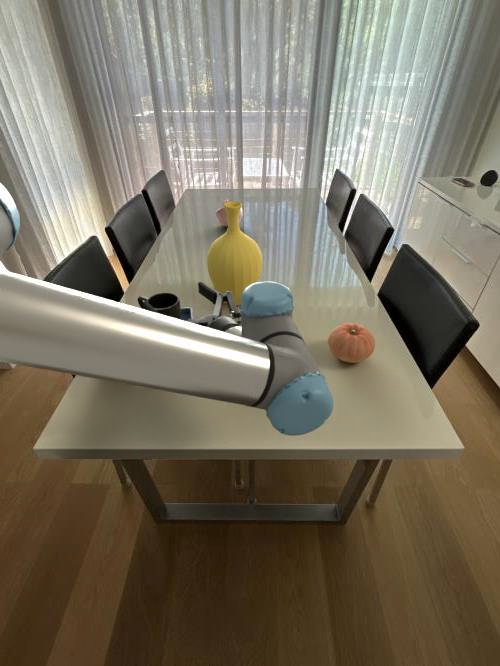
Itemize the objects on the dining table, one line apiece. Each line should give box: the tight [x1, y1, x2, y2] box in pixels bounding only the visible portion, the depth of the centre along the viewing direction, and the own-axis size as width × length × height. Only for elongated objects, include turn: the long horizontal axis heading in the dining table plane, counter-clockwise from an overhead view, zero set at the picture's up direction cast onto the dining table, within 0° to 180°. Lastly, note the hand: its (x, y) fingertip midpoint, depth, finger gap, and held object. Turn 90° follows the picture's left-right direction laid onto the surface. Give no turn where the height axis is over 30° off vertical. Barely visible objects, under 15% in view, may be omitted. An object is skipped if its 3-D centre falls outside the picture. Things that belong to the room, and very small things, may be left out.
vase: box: [206, 201, 263, 306], centre depth 96 cm, size 16×16×28 cm
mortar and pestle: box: [215, 199, 244, 228], centre depth 151 cm, size 12×12×12 cm
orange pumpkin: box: [327, 322, 376, 364], centre depth 80 cm, size 11×11×8 cm
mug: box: [137, 292, 182, 320], centre depth 88 cm, size 8×12×10 cm
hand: (173, 296), depth 76 cm, fingers open, 13 cm apart
